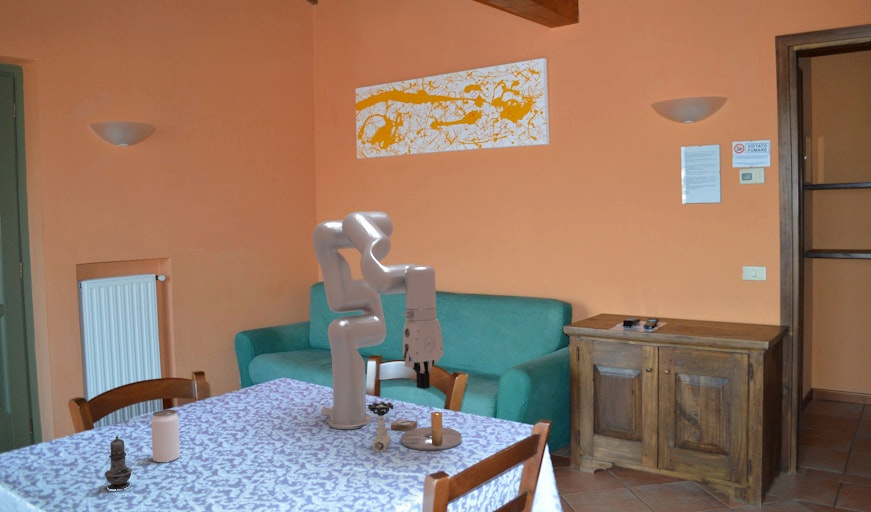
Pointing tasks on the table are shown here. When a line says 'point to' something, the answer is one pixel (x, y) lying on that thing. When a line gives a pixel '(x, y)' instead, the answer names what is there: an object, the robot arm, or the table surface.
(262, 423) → the table surface
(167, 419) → the can
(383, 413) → the valve
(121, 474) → the salt shaker
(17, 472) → the table surface
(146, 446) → the table surface
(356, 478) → the table surface
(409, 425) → the dial pad
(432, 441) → the handwheel
